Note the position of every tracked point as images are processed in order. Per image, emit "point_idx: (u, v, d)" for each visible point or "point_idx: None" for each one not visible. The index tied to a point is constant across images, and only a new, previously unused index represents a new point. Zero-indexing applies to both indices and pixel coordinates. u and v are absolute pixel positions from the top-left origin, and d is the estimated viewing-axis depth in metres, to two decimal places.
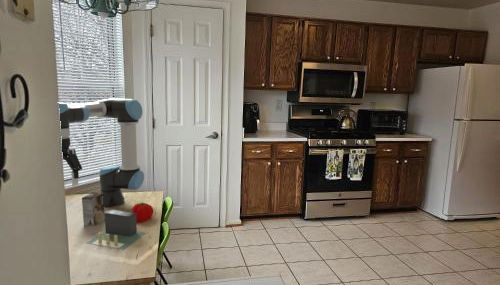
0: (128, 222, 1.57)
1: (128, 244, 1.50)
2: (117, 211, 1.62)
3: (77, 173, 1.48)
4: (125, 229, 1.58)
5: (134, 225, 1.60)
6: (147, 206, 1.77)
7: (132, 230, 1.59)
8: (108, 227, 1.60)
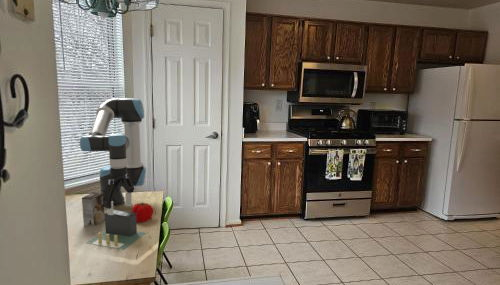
0: (128, 222, 1.57)
1: (128, 244, 1.50)
2: (117, 211, 1.62)
3: (108, 204, 1.51)
4: (125, 229, 1.58)
5: (134, 225, 1.60)
6: (147, 206, 1.77)
7: (132, 230, 1.59)
8: (108, 227, 1.60)
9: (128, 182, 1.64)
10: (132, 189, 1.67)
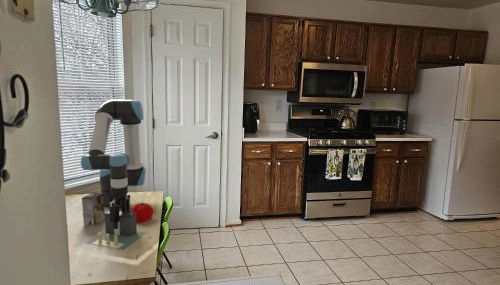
0: (128, 222, 1.57)
1: (128, 244, 1.50)
2: None
3: (115, 224, 1.57)
4: (125, 229, 1.58)
5: (134, 225, 1.60)
6: (147, 206, 1.77)
7: (132, 230, 1.59)
8: (108, 227, 1.60)
9: (126, 204, 1.64)
10: None
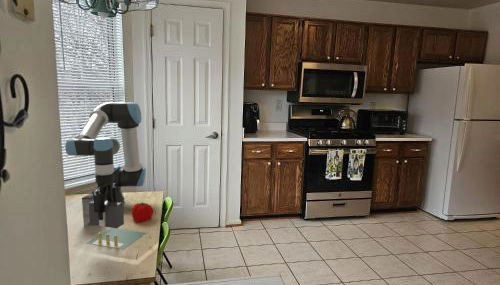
0: (114, 212, 1.43)
1: (128, 244, 1.50)
2: None
3: (99, 215, 1.43)
4: (111, 220, 1.44)
5: (121, 216, 1.46)
6: (147, 206, 1.77)
7: (119, 221, 1.45)
8: (93, 218, 1.47)
9: (113, 193, 1.51)
10: None
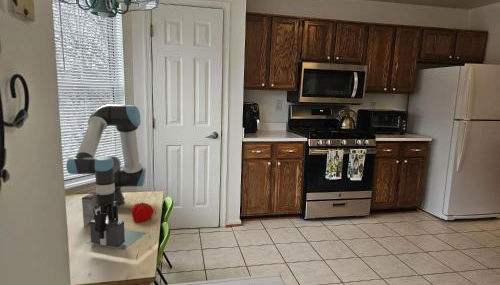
0: (115, 231, 1.45)
1: (128, 244, 1.50)
2: None
3: (100, 234, 1.45)
4: (112, 239, 1.46)
5: (122, 234, 1.48)
6: (147, 206, 1.77)
7: (120, 240, 1.47)
8: (94, 237, 1.48)
9: (114, 211, 1.52)
10: None
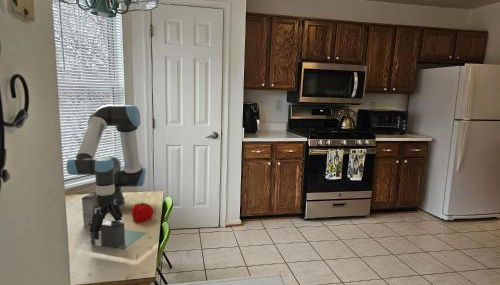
0: (115, 233, 1.45)
1: (128, 244, 1.50)
2: (104, 220, 1.50)
3: (95, 234, 1.41)
4: (113, 240, 1.46)
5: (122, 236, 1.48)
6: (147, 206, 1.77)
7: (120, 241, 1.47)
8: None
9: (116, 209, 1.54)
10: (120, 216, 1.56)
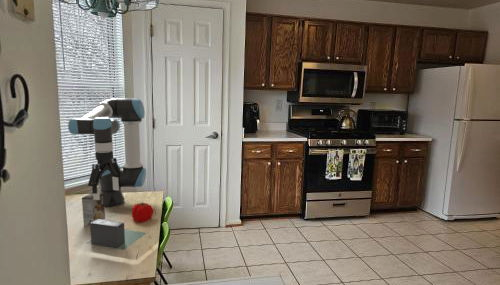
0: (115, 233, 1.45)
1: (128, 244, 1.50)
2: (104, 220, 1.50)
3: (93, 188, 1.48)
4: (113, 240, 1.46)
5: (122, 236, 1.48)
6: (147, 206, 1.77)
7: (120, 241, 1.47)
8: (94, 238, 1.48)
9: (115, 166, 1.61)
10: (119, 174, 1.63)
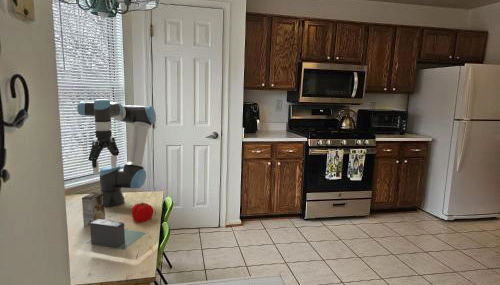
0: (115, 233, 1.45)
1: (128, 244, 1.50)
2: (104, 220, 1.50)
3: (93, 163, 1.63)
4: (113, 240, 1.46)
5: (122, 236, 1.48)
6: (147, 206, 1.77)
7: (120, 241, 1.47)
8: (94, 238, 1.48)
9: (113, 145, 1.76)
10: (117, 152, 1.78)
